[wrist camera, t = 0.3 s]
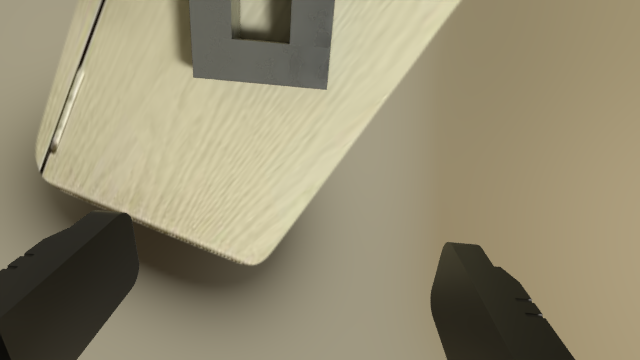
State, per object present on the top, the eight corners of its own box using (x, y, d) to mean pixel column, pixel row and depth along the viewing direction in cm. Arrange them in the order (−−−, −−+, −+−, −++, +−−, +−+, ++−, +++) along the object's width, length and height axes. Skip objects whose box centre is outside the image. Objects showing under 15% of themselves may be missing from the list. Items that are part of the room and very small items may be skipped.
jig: (198, -75, 29) (184, -86, 26) (340, -62, 29) (341, -71, 26) (204, 73, 34) (193, 77, 31) (327, 85, 34) (326, 89, 31)
